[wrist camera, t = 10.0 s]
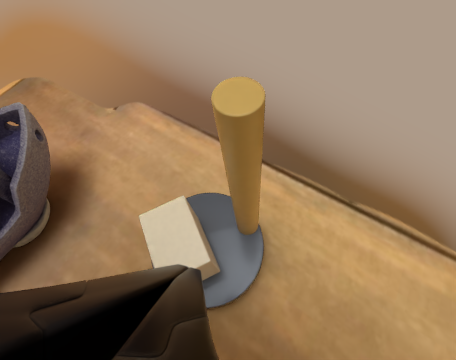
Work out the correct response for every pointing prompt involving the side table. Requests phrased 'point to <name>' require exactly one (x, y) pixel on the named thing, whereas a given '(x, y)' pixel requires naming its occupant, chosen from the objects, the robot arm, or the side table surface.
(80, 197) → the side table surface
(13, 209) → the toy boat
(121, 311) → the robot arm
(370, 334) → the side table surface
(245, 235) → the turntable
